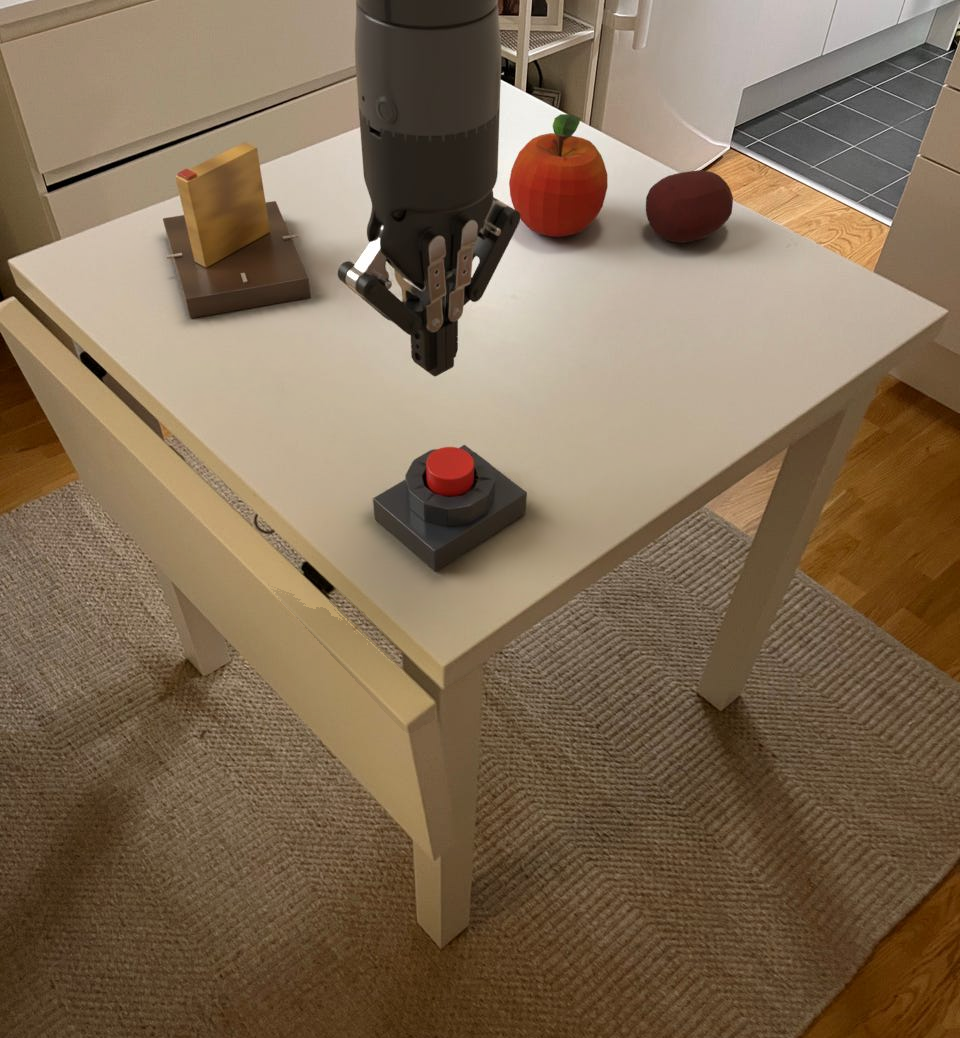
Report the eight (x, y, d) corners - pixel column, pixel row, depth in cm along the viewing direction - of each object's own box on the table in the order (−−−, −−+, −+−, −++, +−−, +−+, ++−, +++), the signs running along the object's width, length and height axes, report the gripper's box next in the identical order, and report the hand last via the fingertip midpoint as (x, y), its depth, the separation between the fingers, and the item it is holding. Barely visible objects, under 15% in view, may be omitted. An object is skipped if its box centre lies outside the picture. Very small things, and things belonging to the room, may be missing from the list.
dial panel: (160, 238, 97) (155, 217, 95) (284, 218, 99) (281, 198, 98) (183, 320, 89) (178, 298, 87) (317, 296, 91) (314, 275, 90)
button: (448, 504, 70) (447, 486, 69) (417, 479, 72) (416, 460, 70) (483, 482, 72) (484, 464, 70) (452, 458, 73) (452, 439, 72)
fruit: (493, 240, 98) (496, 137, 90) (524, 193, 103) (530, 93, 95) (586, 261, 96) (598, 158, 88) (613, 212, 101) (626, 111, 93)
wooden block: (258, 226, 95) (244, 138, 88) (270, 232, 94) (256, 144, 88) (194, 261, 91) (174, 173, 84) (206, 268, 90) (186, 179, 84)
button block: (435, 572, 71) (434, 533, 68) (374, 519, 74) (370, 479, 71) (525, 513, 75) (529, 474, 72) (464, 465, 78) (464, 425, 75)
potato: (630, 220, 101) (639, 161, 96) (712, 210, 102) (725, 151, 97) (657, 260, 96) (668, 201, 91) (742, 249, 98) (757, 190, 93)
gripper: (474, 38, 57) (470, 304, 71) (284, 108, 51) (320, 381, 65) (567, 84, 54) (544, 353, 67) (376, 163, 48) (393, 439, 62)
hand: (434, 366), depth 66 cm, fingers closed
